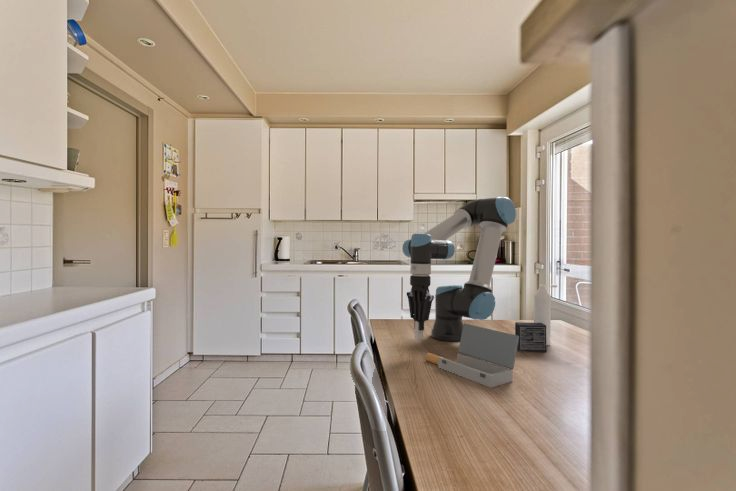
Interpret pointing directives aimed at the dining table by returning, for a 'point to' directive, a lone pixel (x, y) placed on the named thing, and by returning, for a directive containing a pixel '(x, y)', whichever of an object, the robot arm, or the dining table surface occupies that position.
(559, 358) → the dining table surface
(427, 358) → the orange cylinder rod
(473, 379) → the hinged pencil case
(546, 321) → the water bottle
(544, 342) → the small box
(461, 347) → the cover
